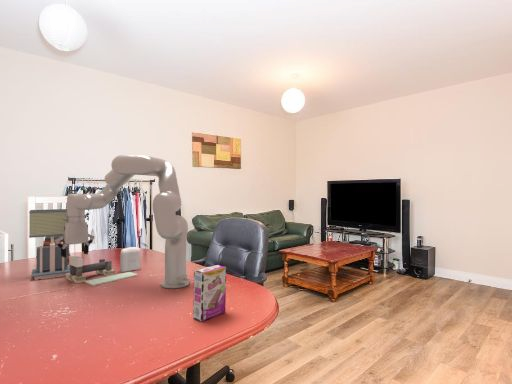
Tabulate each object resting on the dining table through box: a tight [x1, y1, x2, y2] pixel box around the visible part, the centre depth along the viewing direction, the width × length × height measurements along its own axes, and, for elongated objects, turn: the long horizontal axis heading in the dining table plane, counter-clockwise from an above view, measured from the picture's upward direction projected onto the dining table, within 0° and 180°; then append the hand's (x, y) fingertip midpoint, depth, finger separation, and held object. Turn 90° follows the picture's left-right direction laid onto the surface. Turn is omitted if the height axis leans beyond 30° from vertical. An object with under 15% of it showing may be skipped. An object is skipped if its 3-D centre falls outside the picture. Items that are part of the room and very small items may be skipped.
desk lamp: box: [28, 208, 70, 281], centre depth 156 cm, size 18×14×33 cm
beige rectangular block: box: [69, 255, 84, 267], centre depth 148 cm, size 9×3×4 cm, turn 51°
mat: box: [84, 271, 139, 287], centre depth 150 cm, size 8×22×1 cm, turn 141°
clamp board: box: [65, 258, 116, 284], centre depth 153 cm, size 12×18×7 cm, turn 141°
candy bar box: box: [192, 264, 227, 323], centre depth 107 cm, size 11×5×16 cm, turn 141°
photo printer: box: [119, 246, 141, 273], centre depth 166 cm, size 10×4×12 cm, turn 134°
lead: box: [69, 261, 106, 275], centre depth 154 cm, size 17×4×4 cm, turn 141°
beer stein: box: [42, 236, 72, 266], centre depth 179 cm, size 19×15×20 cm
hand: (75, 255), depth 148 cm, fingers open, 9 cm apart
